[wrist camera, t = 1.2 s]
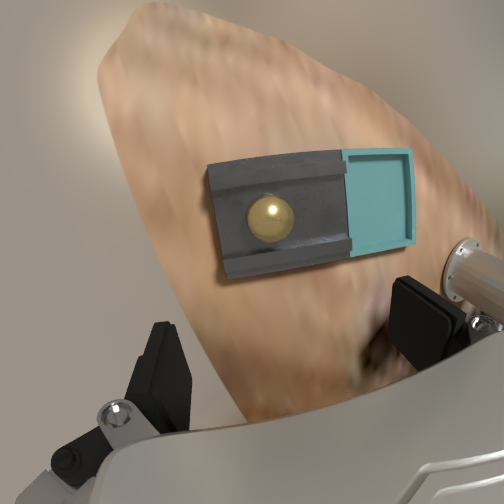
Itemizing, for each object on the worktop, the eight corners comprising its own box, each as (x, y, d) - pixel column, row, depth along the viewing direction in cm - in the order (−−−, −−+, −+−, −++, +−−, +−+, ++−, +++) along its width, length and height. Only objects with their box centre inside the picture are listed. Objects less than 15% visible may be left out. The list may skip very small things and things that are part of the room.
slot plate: (334, 150, 32) (344, 148, 29) (342, 253, 36) (352, 261, 33) (208, 165, 32) (206, 164, 29) (226, 274, 36) (227, 283, 33)
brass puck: (286, 192, 31) (291, 193, 29) (291, 233, 33) (296, 238, 30) (243, 198, 31) (245, 200, 29) (249, 240, 33) (252, 245, 30)
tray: (404, 148, 33) (411, 148, 31) (409, 241, 37) (415, 244, 35) (335, 150, 32) (341, 149, 31) (344, 253, 37) (350, 257, 35)
